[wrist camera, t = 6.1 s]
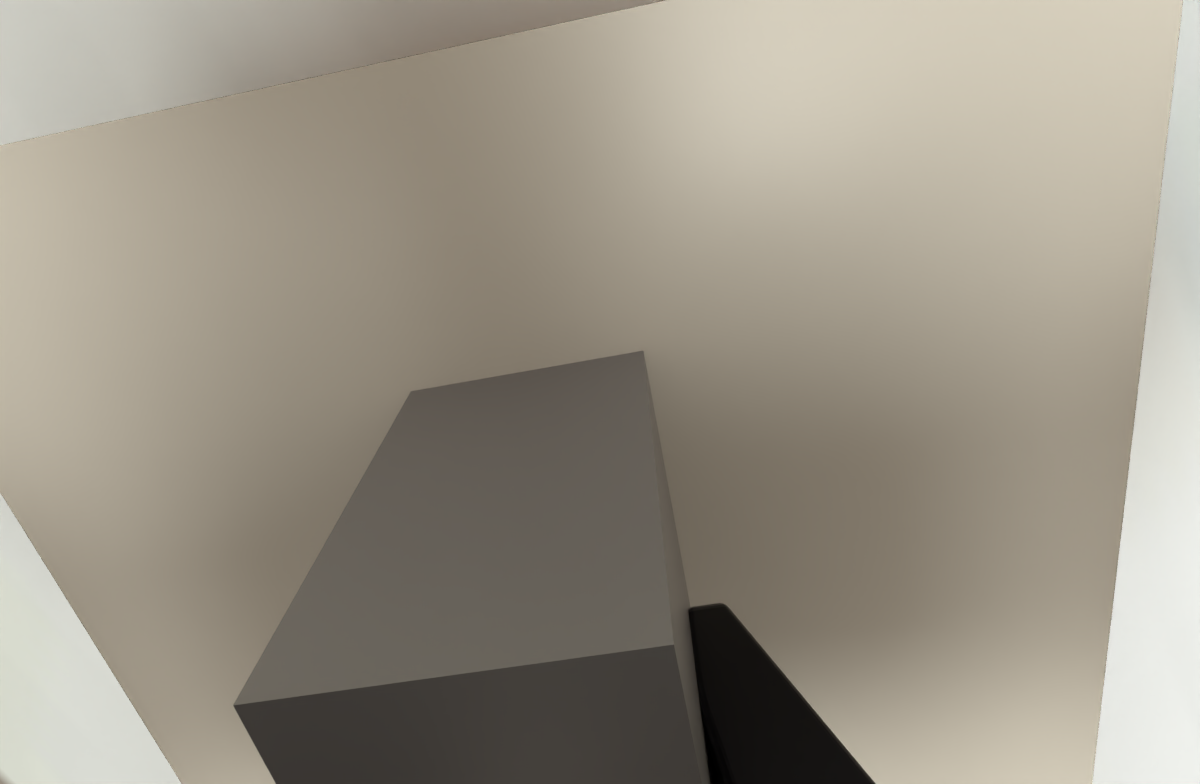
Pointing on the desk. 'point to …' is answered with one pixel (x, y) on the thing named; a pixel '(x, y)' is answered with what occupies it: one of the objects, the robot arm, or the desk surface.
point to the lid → (602, 389)
